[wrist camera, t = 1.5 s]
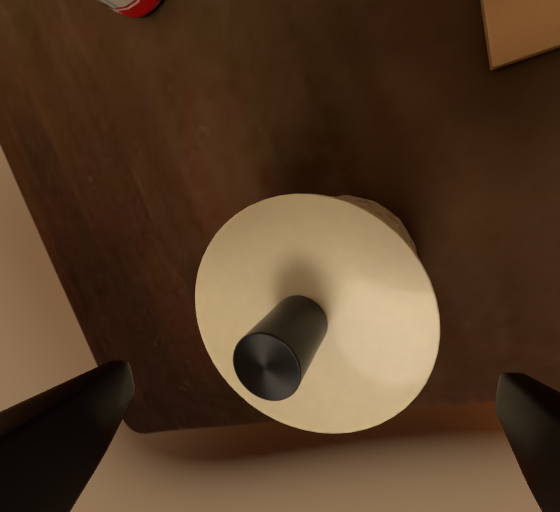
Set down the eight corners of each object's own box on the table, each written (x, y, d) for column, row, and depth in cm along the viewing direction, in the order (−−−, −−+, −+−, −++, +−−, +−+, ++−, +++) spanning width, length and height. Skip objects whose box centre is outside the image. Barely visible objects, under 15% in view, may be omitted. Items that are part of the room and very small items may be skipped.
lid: (504, 305, 12) (566, 378, 7) (331, 458, 16) (303, 565, 11) (277, 142, 13) (216, 121, 9) (175, 317, 17) (98, 362, 13)
